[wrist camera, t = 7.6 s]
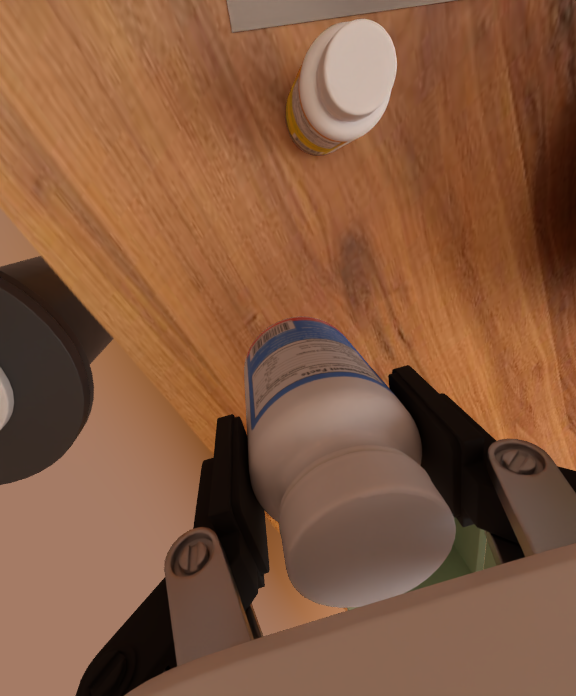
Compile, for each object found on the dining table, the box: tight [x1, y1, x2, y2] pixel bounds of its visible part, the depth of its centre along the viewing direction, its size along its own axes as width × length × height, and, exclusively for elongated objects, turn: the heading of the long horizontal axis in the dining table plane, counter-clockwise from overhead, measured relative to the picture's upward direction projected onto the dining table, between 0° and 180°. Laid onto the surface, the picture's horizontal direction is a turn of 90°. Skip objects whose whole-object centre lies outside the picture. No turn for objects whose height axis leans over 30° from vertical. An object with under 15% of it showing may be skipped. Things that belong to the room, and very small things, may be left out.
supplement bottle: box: [285, 19, 397, 155], centre depth 21 cm, size 6×6×10 cm
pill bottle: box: [244, 316, 456, 608], centre depth 12 cm, size 6×5×10 cm
